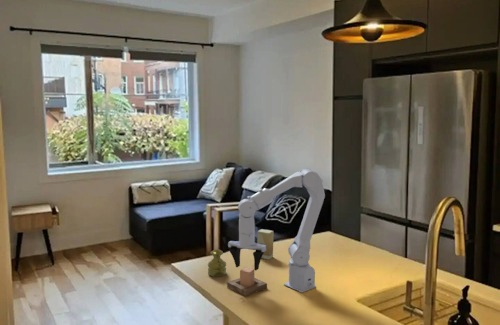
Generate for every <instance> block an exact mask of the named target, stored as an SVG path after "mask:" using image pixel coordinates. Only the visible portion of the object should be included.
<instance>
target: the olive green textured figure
mask: <svg viewBox="0 0 500 325" xmlns="http://www.w3.org/2000/svg"><path fill="white" fill-rule="evenodd" d="M223 254H224V252H223V250H221V249H219V248H215V249H213V250H212V251H210V255H211V256H212V257H213V258H211V260H210V261H208V263H207V267H208V268H207V274H208V275H209V276H211V277H217V278H218V277H219V278H220V277H222V276H225V275H227V268H226V266H227V262H226V261H225V260H224V259H223V258H221V256H222V255H223Z"/></svg>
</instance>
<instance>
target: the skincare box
mask: <svg viewBox="0 0 500 325" xmlns="http://www.w3.org/2000/svg"><path fill="white" fill-rule="evenodd" d="M274 233H275V232H274V230H270V229H263V228H261V229H259V230H258V231H257V242H256V243H258V244H261V245H266V251H265V252H264V253H263V255H262V258H261V259H265V260H271V259H272V258H273V257H274Z"/></svg>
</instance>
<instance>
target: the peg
mask: <svg viewBox="0 0 500 325" xmlns="http://www.w3.org/2000/svg"><path fill="white" fill-rule="evenodd" d="M239 278H240V285H241V286H243V287H249V286H252V285H254V278H255V269H254V268H251V267H243V268H241V269H240V270H239Z"/></svg>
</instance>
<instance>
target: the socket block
mask: <svg viewBox="0 0 500 325" xmlns="http://www.w3.org/2000/svg"><path fill="white" fill-rule="evenodd" d="M226 286H227V288H228V289H230V290H232V291H234V292H236V293H237V294H240V295H242V296H244V297H247V296H250V295H253V294H256V293H258V292H261V291H264V290H267V289H268V283H267V282H265V281H263V280H261V279H258V278H255V277H254V285H252V286H249V287H243V286H241V285H240V277H238V278H235V279H233V280H229V281H227V282H226Z"/></svg>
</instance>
